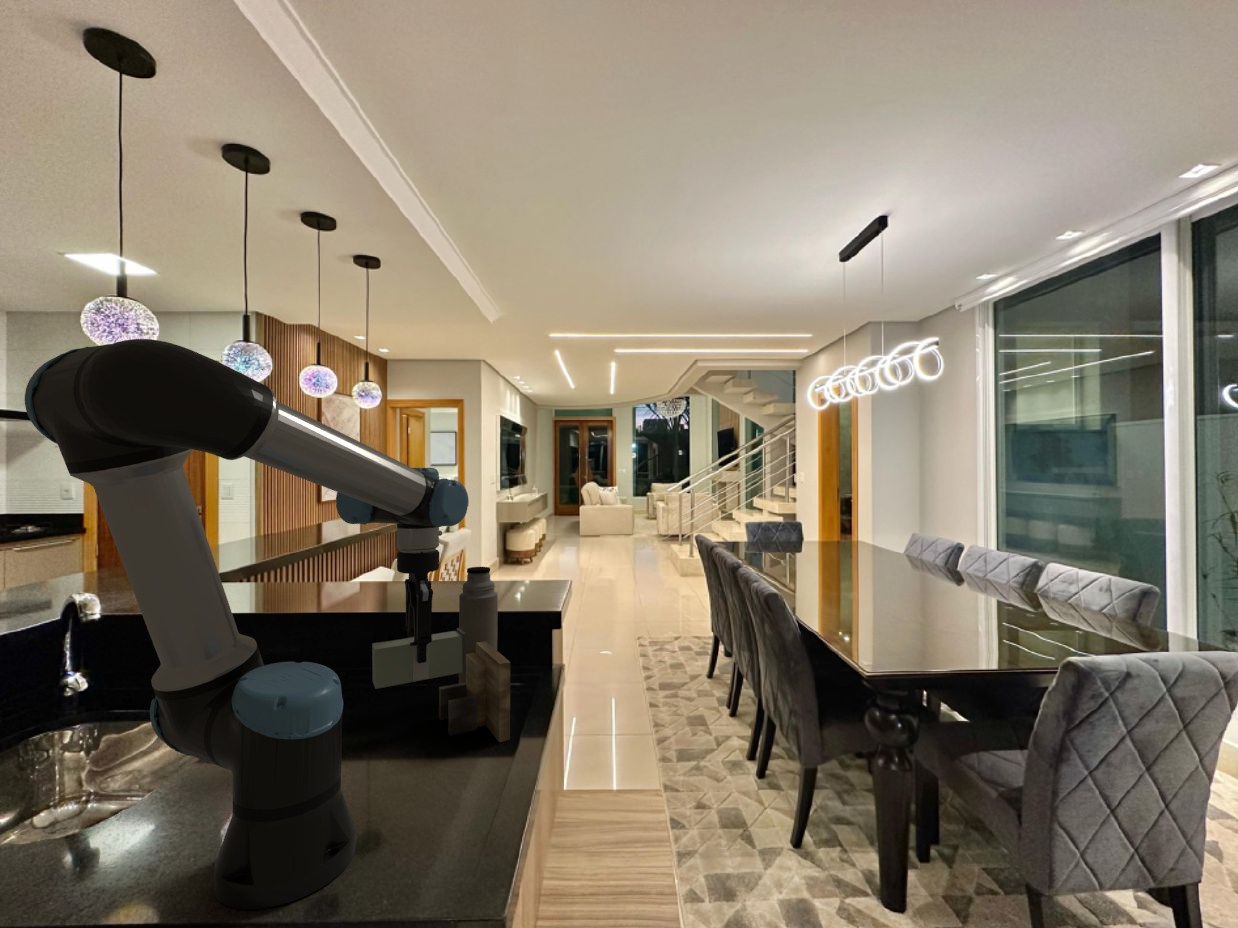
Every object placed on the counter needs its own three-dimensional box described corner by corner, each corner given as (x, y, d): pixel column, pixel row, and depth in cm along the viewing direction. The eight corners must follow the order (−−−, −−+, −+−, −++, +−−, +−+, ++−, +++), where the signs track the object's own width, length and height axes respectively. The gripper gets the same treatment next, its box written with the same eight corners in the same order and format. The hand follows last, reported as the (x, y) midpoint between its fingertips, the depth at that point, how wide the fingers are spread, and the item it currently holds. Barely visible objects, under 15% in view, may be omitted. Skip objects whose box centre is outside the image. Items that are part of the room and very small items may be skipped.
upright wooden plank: (460, 751, 100) (460, 670, 101) (438, 717, 114) (439, 646, 115) (509, 739, 105) (510, 662, 105) (483, 708, 119) (484, 639, 119)
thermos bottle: (478, 688, 130) (479, 563, 130) (504, 696, 125) (505, 566, 126) (450, 700, 123) (451, 568, 123) (477, 709, 119) (478, 571, 119)
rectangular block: (375, 689, 102) (375, 647, 102) (372, 681, 106) (372, 640, 106) (466, 672, 110) (465, 633, 110) (459, 665, 114) (459, 627, 114)
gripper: (450, 554, 103) (449, 686, 103) (429, 543, 118) (428, 658, 117) (405, 557, 99) (405, 694, 99) (389, 545, 114) (389, 665, 114)
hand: (417, 674), depth 108 cm, fingers closed on rectangular block, 4 cm apart
